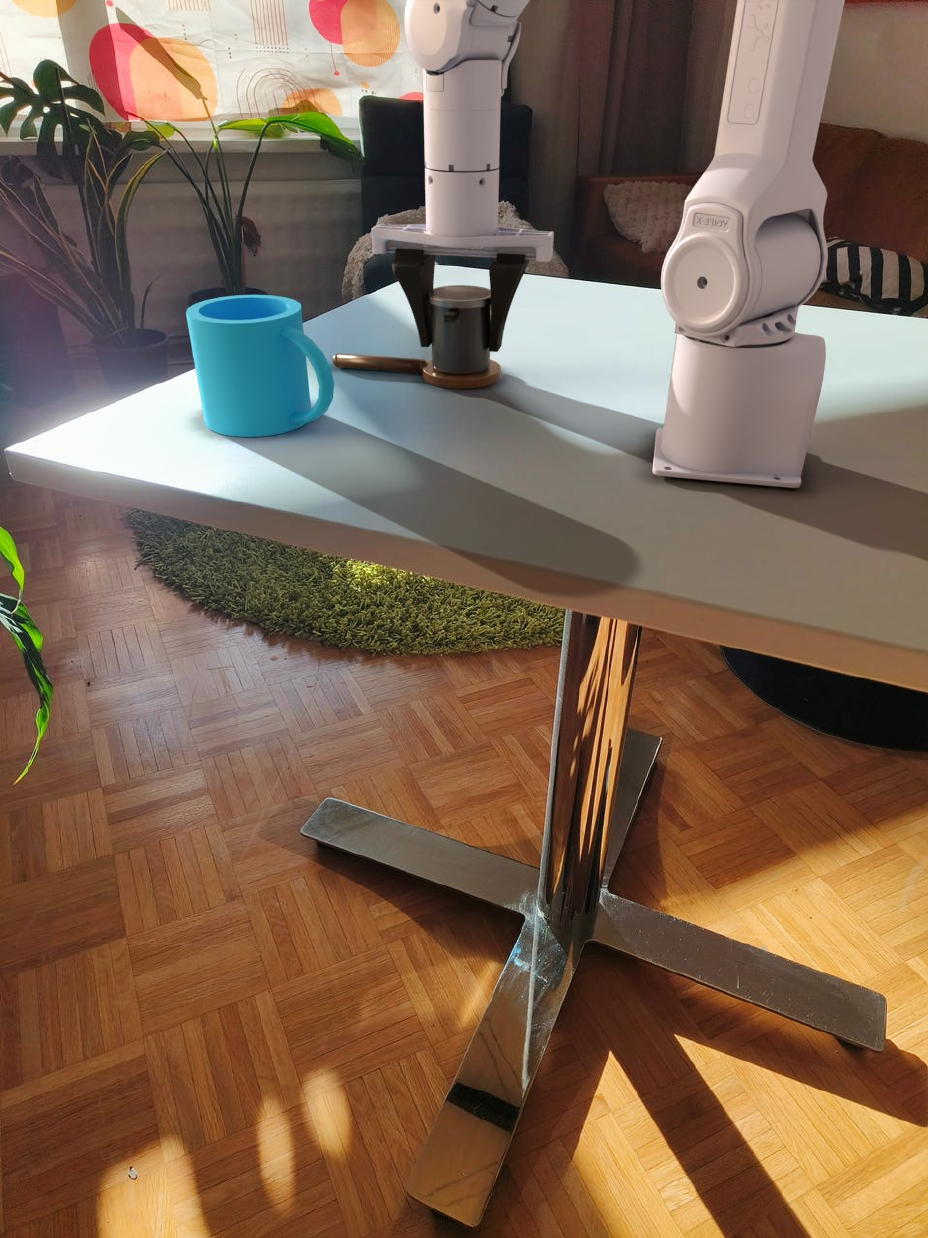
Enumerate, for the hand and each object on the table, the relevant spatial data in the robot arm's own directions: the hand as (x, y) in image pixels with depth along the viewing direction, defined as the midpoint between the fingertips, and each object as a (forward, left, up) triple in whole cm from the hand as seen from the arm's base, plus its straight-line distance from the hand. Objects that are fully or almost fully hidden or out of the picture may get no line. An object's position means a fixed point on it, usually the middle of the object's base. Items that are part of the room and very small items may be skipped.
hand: (461, 346), depth 74 cm
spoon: (+4, 0, -3) cm, 5 cm away
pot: (0, 0, -2) cm, 2 cm away
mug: (+11, +14, -3) cm, 18 cm away
